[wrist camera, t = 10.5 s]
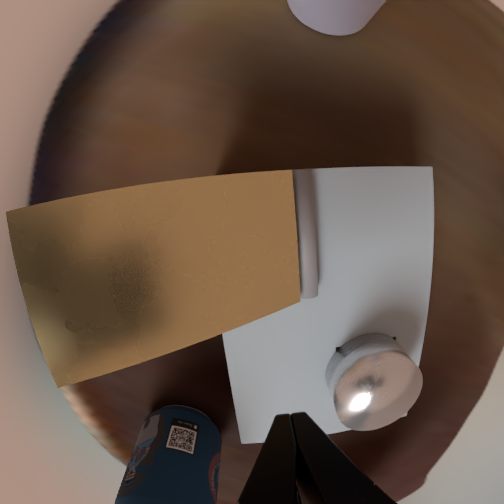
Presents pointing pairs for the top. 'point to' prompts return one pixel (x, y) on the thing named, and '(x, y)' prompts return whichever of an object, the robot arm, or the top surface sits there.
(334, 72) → the top surface
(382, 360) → the steel pin
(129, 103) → the top surface
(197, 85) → the top surface
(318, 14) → the spray bottle
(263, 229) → the plate
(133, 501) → the soda can
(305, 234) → the block
